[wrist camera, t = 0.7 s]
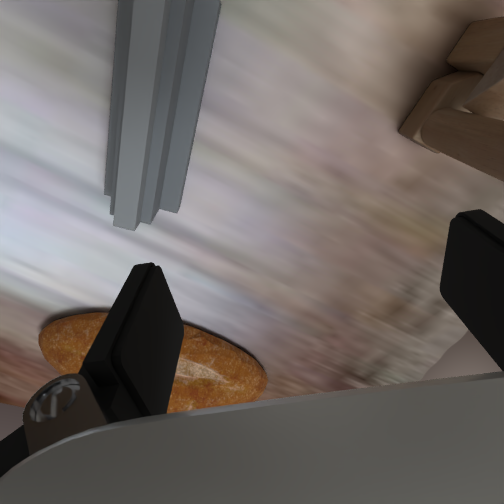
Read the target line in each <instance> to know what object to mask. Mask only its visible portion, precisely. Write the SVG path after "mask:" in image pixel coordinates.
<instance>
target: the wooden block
mask: <svg viewBox="0 0 504 504" xmlns="http://www.w3.org/2000/svg"><path fill="white" fill-rule="evenodd" d="M446 61H447V62H448V64H450V65H451V66H453V67H455V68H456V69H458V70H459V71H458V72H455V73H452V74H449V75H447V76H444V77H441V78H438V79H436V80H434V81H432V82H431V84H430V85H429V87H428V88H427V90H426V91H425V93H424V94H423V96H422V97H421V98H420V100H419V101H418V103H417V104H416V106H415V107H414V109H413V110H412V112H411V113H410V115H409V116H408V118H407V119H406V121H405V122H404V124H403V125H402V127H401V128H400V130H399V133H400V134H401V135H402V136H404V137H406V138H408V139H410V140H411V141H413V142H415V143H417V144H419V145H420V146H422V147H424V148H426V149H428V150H430V151H432V152H434V153H440V152H442V153H444V154H446V155H448V156H450V157H452V158H454V159H456V160H459V161H461V162H463V163H465V164H467V165H469V166H471V167H474V168H476V169H478V170H480V171H482V172H484V173H486V174H488V175H491V176H493V177H495V178H497V179H499V180H501V181H503V182H504V121H503V120H504V17H498V18H492V19H486V20H480V21H474V22H472V23H471V24H470V25H469V27H468V28H467V29H466V31H465V32H464V34H463V35H462V37H461V38H460V40H459V41H458V43H457V44H456V46H455V47H454V49H453V50H452V52H451V53H450V55H449V56H448V58H447V60H446ZM471 112H472V113H471Z"/></svg>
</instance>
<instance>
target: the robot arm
mask: <svg viewBox="0 0 504 504" xmlns="http://www.w3.org/2000/svg"><path fill="white" fill-rule="evenodd" d="M440 292H441V295H442V297H443V298H444V300H445V301H446V302H447V303H448V305H449V306H450V307H451V308H452V309H453V311H454V312H455V313H456V314H457V316H458V317H459V318H460V319H461V320H462V322H463V323H464V324H465V325H466V327H467V328H468V329H469V330H470V332H471V333H472V334H473V335H474V336H475V338H476V339H477V340H478V341H479V342H480V344H481V345H482V346H483V347H484V349H485V350H486V351H487V352H488V354H489V355H490V356H491V357H492V358H493V360H494V361H495V362H496V363H497V365H498V366H499V367H500V368H501V369H502V372H493V373H484V374H476V375H467V376H459V377H451V378H442V379H433V380H425V381H416V382H408V383H400V384H392V385H384V386H375V387H367V388H359V389H351V390H343V391H335V392H327V393H319V394H311V395H303V396H295V397H287V398H279V399H271V400H264V401H256V402H248V403H240V404H233V405H225V406H217V407H209V408H202V409H195V410H188V411H181V412H174V413H167V409H168V405H169V400H170V396H171V391H172V387H173V382H174V378H175V373H176V369H177V364H178V360H179V355H180V351H181V346H182V342H183V337H184V325H183V322H182V319H181V317H180V314H179V312H178V309H177V307H176V304H175V302H174V299H173V297H172V294H171V292H170V289H169V287H168V284H167V282H166V279H165V277H164V274H163V272H162V269H161V267H160V266H155V264H154V263H152V262H151V263H144V264H138V265H135V266H134V267H133V268H132V270H131V272H130V274H129V276H128V278H127V280H126V282H125V283H124V285H123V287H122V289H121V291H120V293H119V295H118V297H117V298H116V300H115V302H114V304H113V306H112V308H111V310H110V312H109V313H108V315H107V317H106V319H105V321H104V323H103V325H102V327H101V328H100V330H99V332H98V334H97V336H96V338H95V340H94V342H93V343H92V345H91V347H90V349H89V351H88V353H87V355H86V357H85V358H84V360H83V362H82V366H81V368H80V370H79V372H78V374H76V373H71V374H65V375H62V376H59V377H57V378H55V379H53V380H51V381H49V382H48V383H46V384H45V385H44V386H42V387H41V388H40V389H39V390H38V391H37V392H36V393H35V394H34V395H33V396H32V397H31V398H30V400H29V401H28V403H27V404H26V406H25V409H24V411H23V425H22V426H21V427H19V428H18V429H17V430H15V431H14V432H13V433H11V434H10V435H8V436H7V437H6V438H4V439H3V440H2V441H0V504H504V224H503V223H502V222H500V221H499V220H497V219H495V218H494V217H492V216H491V215H489V214H488V213H486V212H485V211H483V210H481V209H478V210H472V211H465V212H460V213H458V214H457V215H456V217H455V218H453V219H452V220H451V222H450V227H449V233H448V239H447V245H446V251H445V257H444V263H443V270H442V276H441V282H440Z"/></svg>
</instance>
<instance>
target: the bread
mask: <svg viewBox="0 0 504 504" xmlns="http://www.w3.org/2000/svg"><path fill="white" fill-rule="evenodd" d="M107 315H108V313H99V312H95V313H87V314H80V315H73V316H69V317H66V318H62V319H59V320H55V321H53V322H52V323H50V324H49V325H48V326H46V327H45V328H43V330H42V331H41V332H40V334H39V346H40V348H41V351H42V353H43V355H44V358H45V359H46V360H47V361H48V362H49V363H50V364H51V365H52V366H53V367H54V368H55V369H56V370H57V371H58V372H59V373H60V374H61V375H65V374H71V373H76V374H78V372H79V370H80V368H81V366H82V362H83V360H84V358H85V357H86V355H87V353H88V351H89V349H90V347H91V345H92V343H93V342H94V340H95V338H96V336H97V334H98V332H99V330H100V328H101V327H102V325H103V323H104V321H105V319H106V317H107ZM183 325H184V337H183V342H182V346H181V351H180V355H179V360H178V364H177V369H176V373H175V378H174V382H173V387H172V391H171V396H170V400H169V405H168V409H167V413H174V412H181V411H188V410H195V409H202V408H209V407H217V406H225V405H233V404H240V403H248V402H255V401H256V400H257V399H258V398H259V397H260V396H261V394H262V393H263V391H264V389H265V387H266V385H267V382H268V379H267V375H266V373H265V371H264V370H263V369H262V367H261V366H260V365H259V364H258V362H257V361H256V360H255V359H254V358H252V357H251V356H249V355H248V354H246V353H245V352H244V351H242V350H241V349H239V348H237V347H235V346H233V345H231V344H230V343H228V342H226V341H224V340H222V339H219V338H217V337H215V336H213V335H210V334H208V333H206V332H203V331H201V330H199V329H196V328H194V327H192V326H188V325H185V324H183Z"/></svg>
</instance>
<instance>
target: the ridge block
mask: <svg viewBox="0 0 504 504" xmlns="http://www.w3.org/2000/svg"><path fill="white" fill-rule="evenodd" d="M220 9H221V2H220V1H219V0H118V11H117V25H116V39H115V52H114V66H113V79H112V93H111V107H110V120H109V134H108V148H107V161H106V175H105V189H104V195H108V196H111V205H110V215H114V220H113V226H116V227H120V228H124V229H128V230H132V231H135V230H136V228H137V226H138V225H139V223H140V222H142V223H146V224H151V222H152V221H153V219H154V217H155V215H156V214H157V212H158V210H159V209H162V210H166V211H169V212H173V213H177V212H178V210H179V208H180V204H181V200H182V195H183V190H184V185H185V180H186V175H187V170H188V165H189V160H190V155H191V151H192V146H193V141H194V136H195V131H196V126H197V121H198V116H199V111H200V107H201V102H202V97H203V92H204V87H205V82H206V77H207V72H208V67H209V63H210V58H211V53H212V48H213V43H214V38H215V33H216V28H217V23H218V18H219V14H220Z"/></svg>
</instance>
